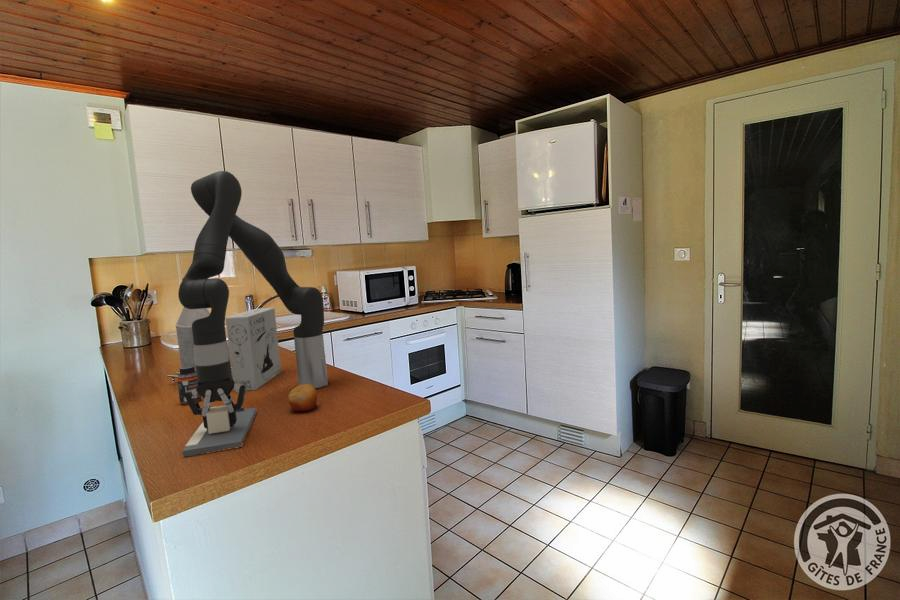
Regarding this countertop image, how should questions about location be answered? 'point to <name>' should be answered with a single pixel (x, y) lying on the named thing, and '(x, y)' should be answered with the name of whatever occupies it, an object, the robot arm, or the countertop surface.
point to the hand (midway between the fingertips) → (221, 427)
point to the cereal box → (253, 347)
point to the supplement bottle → (187, 382)
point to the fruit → (303, 398)
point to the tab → (218, 419)
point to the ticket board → (221, 435)
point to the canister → (188, 333)
